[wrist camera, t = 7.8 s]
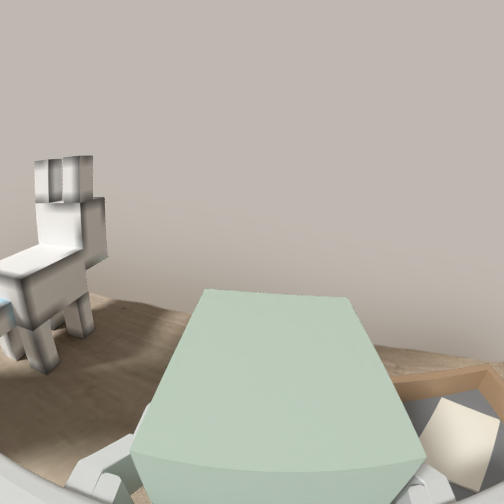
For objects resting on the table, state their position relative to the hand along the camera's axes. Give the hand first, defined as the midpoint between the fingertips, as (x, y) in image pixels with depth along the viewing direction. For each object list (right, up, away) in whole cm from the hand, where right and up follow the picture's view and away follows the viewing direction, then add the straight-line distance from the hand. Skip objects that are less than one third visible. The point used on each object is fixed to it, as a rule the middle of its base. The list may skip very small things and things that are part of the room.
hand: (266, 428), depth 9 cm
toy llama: (-23, -4, +20) cm, 31 cm away
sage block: (0, -6, +1) cm, 6 cm away
